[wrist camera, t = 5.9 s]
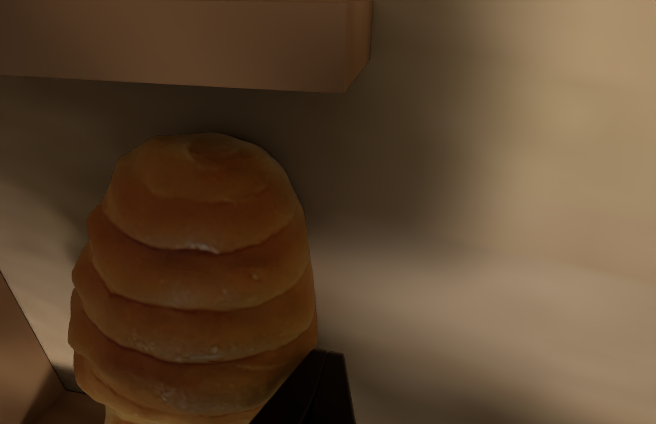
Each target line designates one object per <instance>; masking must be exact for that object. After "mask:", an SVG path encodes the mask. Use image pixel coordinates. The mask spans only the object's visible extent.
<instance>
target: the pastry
mask: <svg viewBox="0 0 656 424" xmlns="http://www.w3.org/2000/svg"><path fill="white" fill-rule="evenodd" d="M86 227H87V231H88V235H89V239H90V241H89V242H88V243H87V244H86V246H85V247H84V248H83V250H82V252H81V254H80V257H79V259H78V261H77V263H76V265H75V267H74V269H73V271H72V281H73V283H74V285H75V288H74V290H73V292H72V296H71V319H70V323H69V330H68V343H69V344H70V346H71V347H72V348H73V349H74V364H73V365H74V372H75V379H76V383H77V385H78V386H79V387H80V388H81V389H82V390H83V391H84V392H85V393H87V394H88V395H89V396H90V397H91V398H92V399H93V400H95V401H96V402H99V403H102V404H105V408H106V417H105V424H249V422H250V421H251V420H252V419H253V418H254V417H255V415H256V414H257V413H258V412H259V411H260V410H261V408H262V407H263V406H264V405H265V404H266V402H267V401H268V400H269V399H270V398H271V397H272V395H273V394H274V393H275V392H276V391H277V390H278V388H279V387H280V386H281V385H282V384H283V383H284V381H285V380H286V379H287V378H288V377H289V376H290V374H291V373H292V372H293V371H294V370H295V368H296V367H297V366H298V365H299V364H300V363H301V361H302V360H303V359H304V358H305V357H306V356H307V354H308V353H309V352H310V351H311V350H312V349H315V348H316V344H317V313H316V299H315V290H314V282H313V273H312V266H311V260H310V251H309V242H308V233H307V226H306V220H305V214H304V211H303V208H302V205H301V204H300V202H299V200H298V198H297V196H296V194H295V192H294V190H293V188H292V186H291V183H290V181H289V179H288V177H287V174H286V172H285V171H284V169H283V168H282V166H281V165H280V164H279V163H278V162H277V161H276V160H275V159H274V158H272V157H271V156H270V155H269V154H268V153H267V152H266V151H265V150H264V149H262V148H261V147H259V146H257V145H255V144H252V143H249V142H245V141H242V140H239V139H236V138H233V137H231V136H228V135H224V134H220V133H213V132H204V133H195V134H186V135H159V136H156V137H153V138H151V139H148V140H147V141H146V142H144V143H143V144H141V145H140V146H138V147H136V148H135V149H134V150H133V151H131V152H129V153H127V154H125V155H123V156H122V157H121V158H119V160H118V161H117V163H116V166H115V169H114V172H113V174H112V177H111V181H110V185H109V188H108V190H107V192H106V194H105V196H104V198H103V200H102V202H101V203H100V204H99V205H98V206H97V207H96V208H95V209H94V210H93V211H92V212H91V213H90V214H89V216H88V217H87V220H86Z"/></svg>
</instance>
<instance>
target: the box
mask: <svg viewBox="0 0 656 424" xmlns="http://www.w3.org/2000/svg"><path fill="white" fill-rule="evenodd" d="M372 15H373V0H0V75H12V76H30V77H48V78H66V79H85V80H103V81H121V82H139V83H158V84H176V85H194V86H212V87H231V88H249V89H267V90H285V91H303V92H322V93H340V94H344V93H345V92H346V90H347V89H348V88H349V86H350V85H351V84H352V82H353V81H354V80H355V79H356V77H357V76H358V75H359V73H360V72H361V71H362V69H363V68H364V67H365V65H366V64H367V63H368V61H369V60H370V49H371V32H372ZM105 417H106V408H105V404H102V403H99V402H96V401H95V400H93V399H92V398H91V397H90V396H89V395H85V394H80V393H76V392H71V391H67V390H65V389H64V388H63V386H62V384H61V382H60V380H59V378H58V377H57V375H56V373H55V371H54V369H53V367H52V366H51V364H50V362H49V360H48V358H47V357H46V355H45V353H44V351H43V349H42V347H41V346H40V344H39V342H38V340H37V338H36V337H35V335H34V333H33V331H32V329H31V327H30V326H29V324H28V322H27V320H26V318H25V316H24V315H23V313H22V311H21V309H20V307H19V306H18V304H17V302H16V300H15V298H14V296H13V295H12V293H11V291H10V289H9V287H8V285H7V284H6V282H5V280H4V278H3V276H2V275H1V273H0V424H105Z"/></svg>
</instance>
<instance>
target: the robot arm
mask: <svg viewBox="0 0 656 424" xmlns="http://www.w3.org/2000/svg"><path fill="white" fill-rule="evenodd" d="M249 424H356V422H355V416H354V410H353V404H352V398H351V393H350V387H349V381H348V375H347V370H346V364H345V358H344V355H343V354H342V353H338V352H332V351H329V352H328V351H326V350H321V349H316V348H315V349H312V350H311V351H310V352H309V353H308V354H307V356H306V357H305V358H304V359H303V360H302V361H301V363H300V364H299V365H298V366H297V367H296V368H295V370H294V371H293V372H292V373H291V374H290V376H289V377H288V378H287V379H286V380H285V381H284V383H283V384H282V385H281V386H280V387H279V388H278V390H277V391H276V392H275V393H274V394H273V395H272V397H271V398H270V399H269V400H268V401H267V402H266V404H265V405H264V406H263V407H262V408H261V410H260V411H259V412H258V413H257V414H256V415H255V417H254V418H253V419H252V420H251V421H250V422H249Z"/></svg>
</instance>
